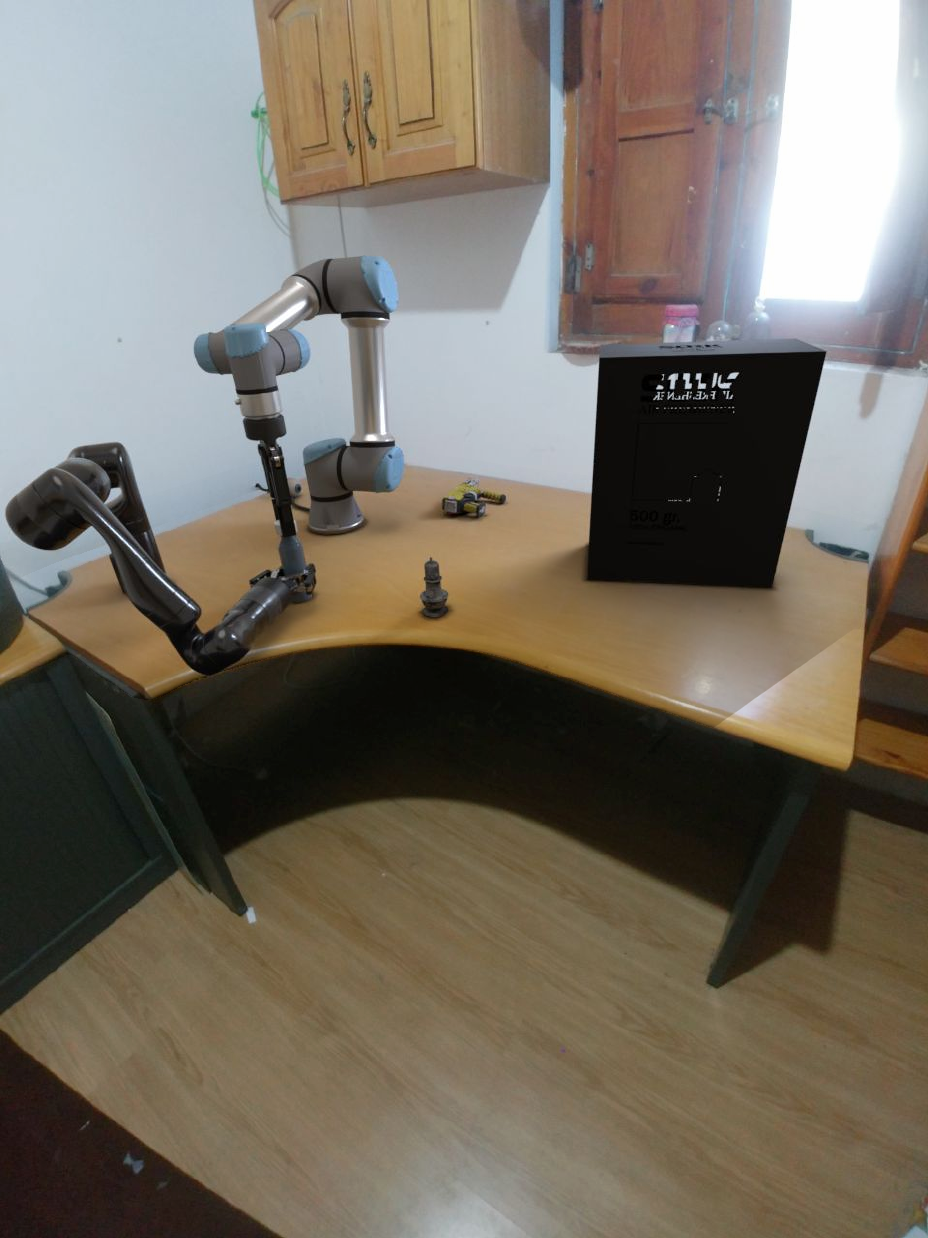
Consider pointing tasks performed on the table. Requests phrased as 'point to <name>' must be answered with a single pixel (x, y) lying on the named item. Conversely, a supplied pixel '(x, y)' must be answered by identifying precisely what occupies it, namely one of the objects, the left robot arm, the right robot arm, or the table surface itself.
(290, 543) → the bottle
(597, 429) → the cardboard box
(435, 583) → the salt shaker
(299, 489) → the eyeball
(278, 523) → the cap
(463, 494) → the toy gun
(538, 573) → the table surface
